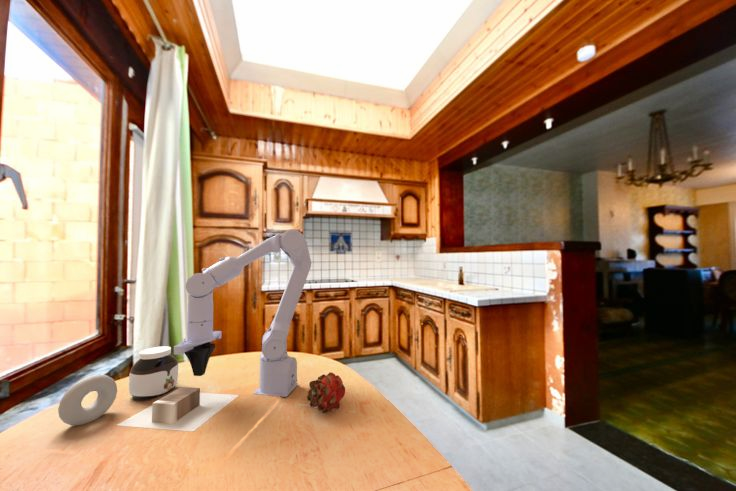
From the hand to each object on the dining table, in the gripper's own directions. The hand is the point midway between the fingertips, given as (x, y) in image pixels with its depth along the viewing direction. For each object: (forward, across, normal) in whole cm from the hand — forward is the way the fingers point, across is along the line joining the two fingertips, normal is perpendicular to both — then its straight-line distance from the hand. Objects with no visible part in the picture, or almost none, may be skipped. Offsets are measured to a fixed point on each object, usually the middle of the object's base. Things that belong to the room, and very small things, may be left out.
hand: (199, 374), depth 72 cm
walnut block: (+4, +3, 0) cm, 5 cm away
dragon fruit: (+7, -1, +33) cm, 34 cm away
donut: (+7, +12, -17) cm, 22 cm away
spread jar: (+7, -3, -16) cm, 18 cm away
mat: (+6, +5, 0) cm, 8 cm away
